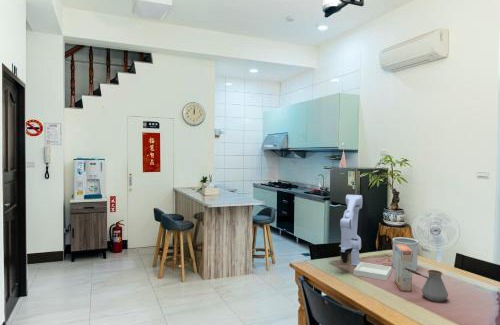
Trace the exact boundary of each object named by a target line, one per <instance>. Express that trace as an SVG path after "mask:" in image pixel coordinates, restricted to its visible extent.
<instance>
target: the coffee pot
mask: <svg viewBox="0 0 500 325" xmlns="http://www.w3.org/2000/svg"><path fill="white" fill-rule="evenodd" d="M405 269H406V270H408V271H410V272H412V274H415V275H417V276H420V277H422V278H425V279H426V280H425V282H424V285H423V286H422V289H421V293H422V295H423V296H424V297H425V298H426V299H427V300H430V301H432V302H444V301H445V300H446V299H448V297H449V293H448V290H447V289H446V286H445V284H444V282H443V281H444V280H443V279H442V275H443V271H440V270H437V269H436V270H435V269H428V270H427V273H428V276H426V275H424V274H422V273H419V272H418V271H417V270H416V271H413V270H410V269H407V268H405ZM403 270H404V269H403ZM406 270H405V271H406ZM403 272H404V271H403Z"/></svg>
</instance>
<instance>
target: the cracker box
mask: <svg viewBox="0 0 500 325" xmlns="http://www.w3.org/2000/svg"><path fill="white" fill-rule="evenodd" d="M412 257H413V251H412V250H411V249H410V248H409V247H408V246H407V245H403V244H396V245H395V268H394V283H395V284H396V286H397V288H398V290H399V291H402V292H403V291H404V292H412V290H413V287H412V286H413V284H412V283H413V273H412V272H410V271H408V270H406V269H405V268H407V269H410V270H412ZM403 269H404V270H403ZM405 270H406V271H405ZM403 271H404V272H403Z"/></svg>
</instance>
